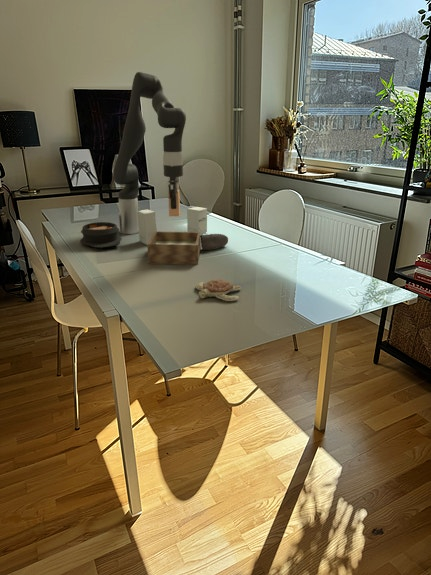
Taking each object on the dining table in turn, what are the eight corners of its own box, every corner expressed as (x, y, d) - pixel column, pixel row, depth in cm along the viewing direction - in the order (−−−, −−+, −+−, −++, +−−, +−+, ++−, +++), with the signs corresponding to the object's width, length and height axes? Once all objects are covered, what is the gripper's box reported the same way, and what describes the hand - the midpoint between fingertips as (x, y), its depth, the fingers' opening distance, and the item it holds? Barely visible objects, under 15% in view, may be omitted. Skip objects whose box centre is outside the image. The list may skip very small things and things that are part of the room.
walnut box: (148, 263, 169) (147, 244, 166) (155, 248, 187) (154, 231, 184) (198, 264, 169) (197, 245, 166) (200, 249, 187) (200, 232, 184)
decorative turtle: (180, 293, 143) (180, 279, 141) (215, 281, 153) (215, 268, 151) (218, 310, 131) (218, 295, 129) (253, 295, 141) (254, 281, 139)
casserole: (75, 239, 200) (73, 222, 197) (113, 234, 209) (112, 218, 205) (87, 253, 180) (85, 234, 177) (129, 248, 188) (128, 229, 185)
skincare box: (157, 243, 195) (156, 211, 189) (146, 245, 192) (144, 213, 186) (150, 239, 201) (148, 208, 196) (138, 241, 198) (136, 209, 193)
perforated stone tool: (225, 244, 195) (225, 230, 192) (231, 247, 190) (231, 232, 188) (196, 249, 188) (196, 234, 185) (202, 252, 183) (202, 237, 181)
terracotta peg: (169, 216, 169) (168, 191, 166) (170, 214, 173) (169, 189, 169) (179, 216, 169) (178, 191, 166) (179, 214, 173) (179, 189, 169)
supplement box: (198, 235, 208) (198, 210, 203) (186, 233, 212) (186, 208, 208) (207, 232, 214) (207, 208, 209) (196, 230, 218) (196, 206, 213)
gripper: (165, 161, 170) (167, 203, 177) (161, 165, 157) (162, 211, 164) (184, 161, 170) (185, 204, 177) (181, 165, 157) (182, 211, 163)
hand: (174, 207), depth 170 cm, fingers closed on terracotta peg, 4 cm apart
